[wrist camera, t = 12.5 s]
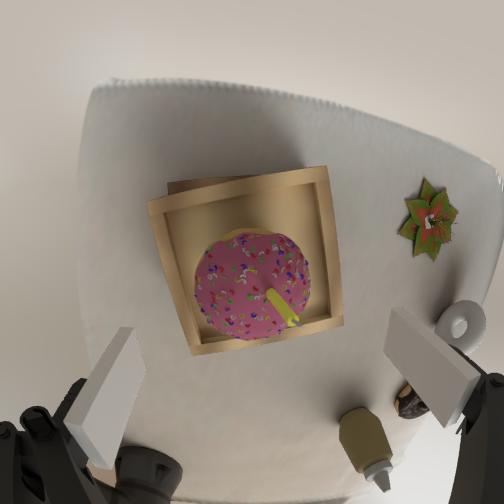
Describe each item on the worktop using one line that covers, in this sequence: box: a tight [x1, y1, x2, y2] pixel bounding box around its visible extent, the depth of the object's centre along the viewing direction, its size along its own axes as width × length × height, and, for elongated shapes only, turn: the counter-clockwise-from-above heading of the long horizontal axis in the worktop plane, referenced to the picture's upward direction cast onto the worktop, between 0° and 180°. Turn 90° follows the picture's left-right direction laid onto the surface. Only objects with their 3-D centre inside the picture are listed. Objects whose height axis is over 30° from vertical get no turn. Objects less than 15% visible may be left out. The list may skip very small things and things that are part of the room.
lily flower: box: [397, 179, 458, 262], centre depth 32 cm, size 12×12×5 cm
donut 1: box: [395, 384, 430, 419], centre depth 41 cm, size 11×12×4 cm
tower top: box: [146, 166, 344, 356], centre depth 26 cm, size 15×15×5 cm
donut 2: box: [435, 300, 486, 355], centre depth 33 cm, size 10×3×10 cm, turn 145°
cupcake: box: [194, 228, 311, 341], centre depth 19 cm, size 9×8×12 cm
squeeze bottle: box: [339, 408, 393, 493], centre depth 34 cm, size 8×8×18 cm
